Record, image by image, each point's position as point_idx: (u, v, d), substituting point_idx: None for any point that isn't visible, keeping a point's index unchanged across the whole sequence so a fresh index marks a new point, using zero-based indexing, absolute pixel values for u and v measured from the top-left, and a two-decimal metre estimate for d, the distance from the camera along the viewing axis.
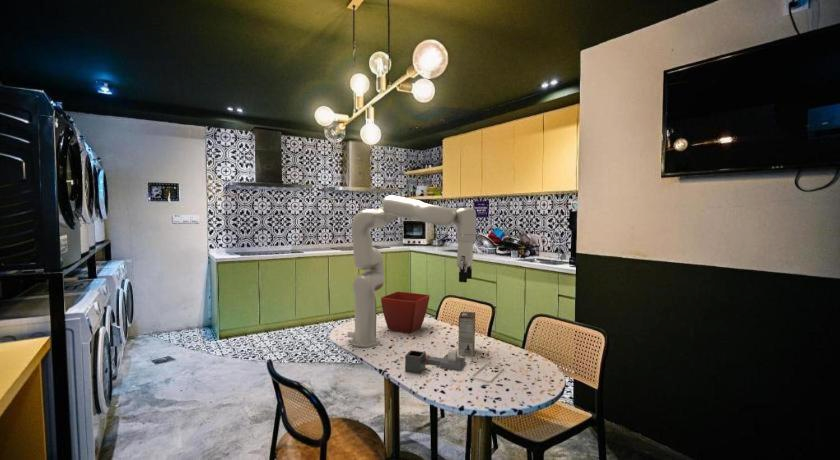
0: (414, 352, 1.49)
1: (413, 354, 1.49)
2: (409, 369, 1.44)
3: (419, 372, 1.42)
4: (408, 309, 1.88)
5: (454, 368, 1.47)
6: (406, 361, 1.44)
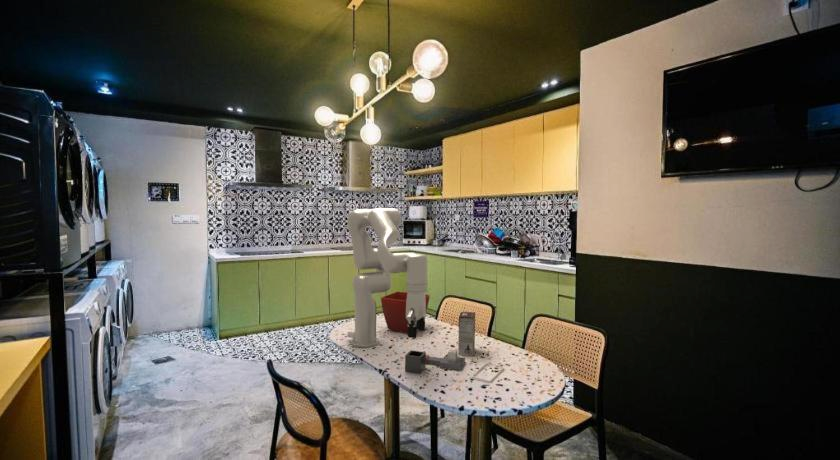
0: (414, 352, 1.49)
1: (413, 354, 1.49)
2: (409, 369, 1.44)
3: (419, 372, 1.42)
4: None
5: (454, 368, 1.47)
6: (406, 361, 1.44)
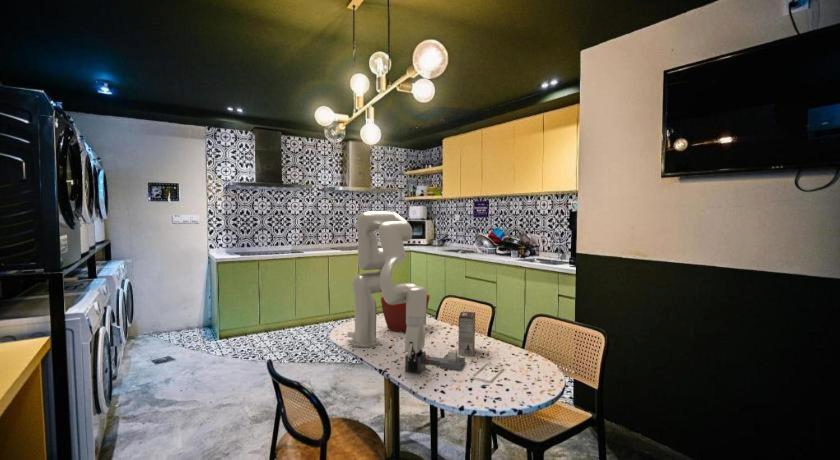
0: None
1: (413, 354, 1.49)
2: None
3: (419, 372, 1.42)
4: None
5: (454, 368, 1.47)
6: (406, 361, 1.44)
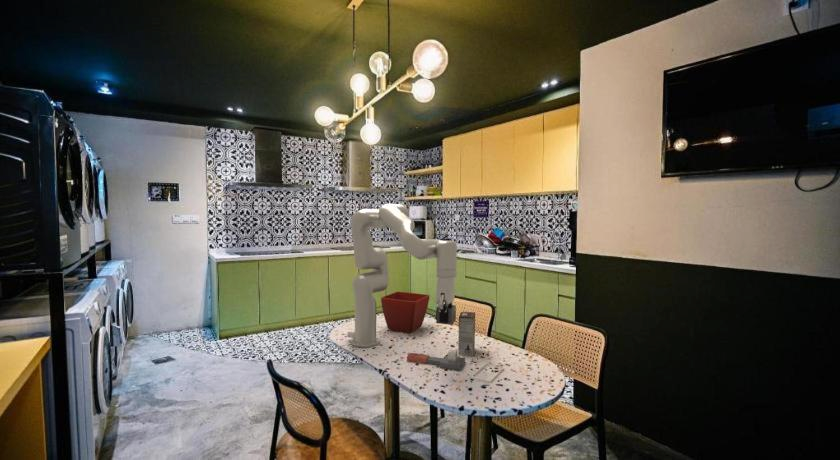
0: None
1: None
2: None
3: (450, 323, 1.45)
4: (408, 309, 1.88)
5: (454, 368, 1.47)
6: (437, 313, 1.47)
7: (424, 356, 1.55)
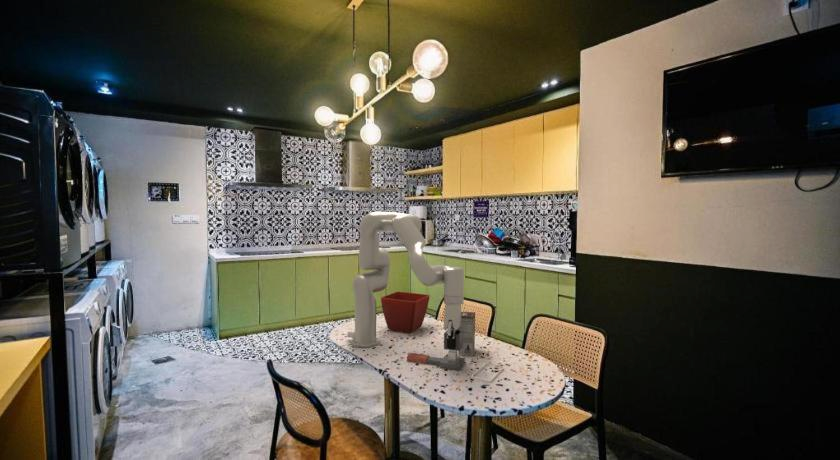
0: None
1: None
2: None
3: (458, 349, 1.47)
4: (408, 309, 1.88)
5: (454, 368, 1.47)
6: (445, 339, 1.48)
7: (424, 356, 1.55)
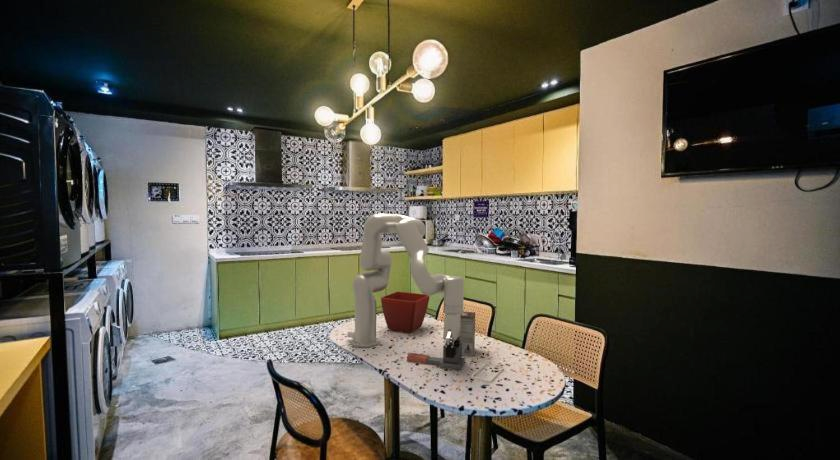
0: None
1: None
2: (447, 359, 1.48)
3: (457, 362, 1.47)
4: (408, 309, 1.88)
5: (454, 368, 1.47)
6: (444, 352, 1.49)
7: (424, 356, 1.55)
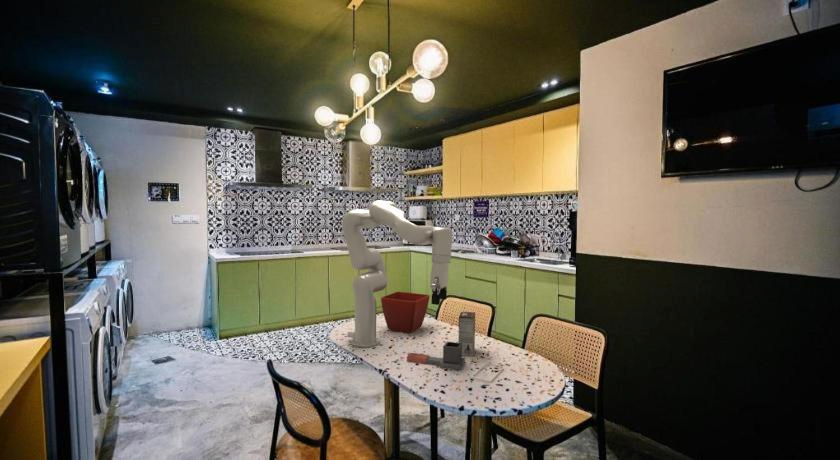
0: (450, 343, 1.53)
1: (449, 345, 1.53)
2: (447, 359, 1.48)
3: (457, 362, 1.47)
4: (408, 309, 1.88)
5: (454, 368, 1.47)
6: (444, 352, 1.49)
7: (424, 356, 1.55)
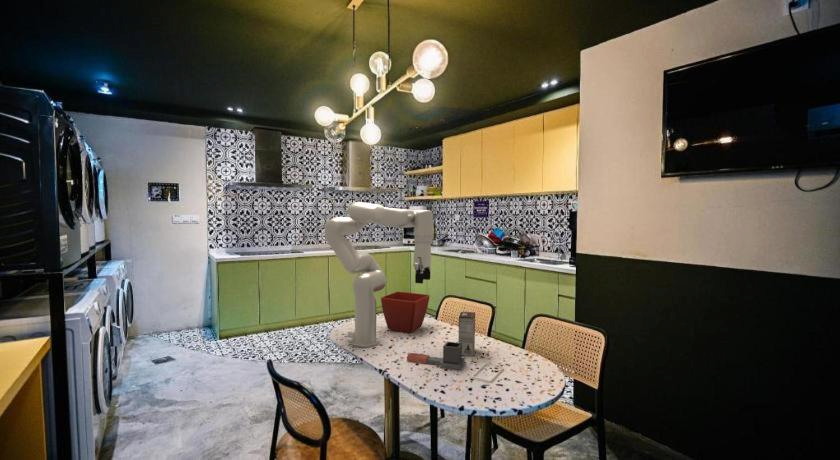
0: (450, 343, 1.53)
1: (449, 345, 1.53)
2: (447, 359, 1.48)
3: (457, 362, 1.47)
4: (408, 309, 1.88)
5: (454, 368, 1.47)
6: (444, 352, 1.49)
7: (424, 356, 1.55)
